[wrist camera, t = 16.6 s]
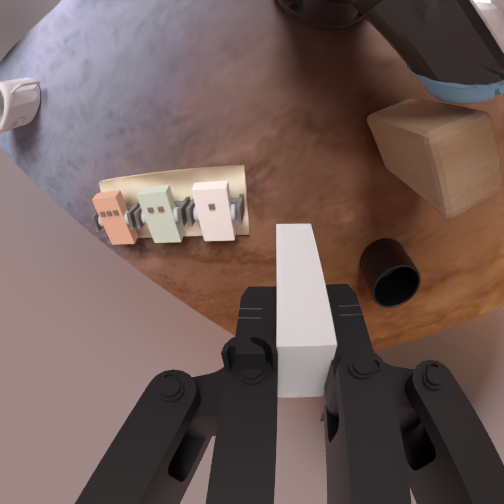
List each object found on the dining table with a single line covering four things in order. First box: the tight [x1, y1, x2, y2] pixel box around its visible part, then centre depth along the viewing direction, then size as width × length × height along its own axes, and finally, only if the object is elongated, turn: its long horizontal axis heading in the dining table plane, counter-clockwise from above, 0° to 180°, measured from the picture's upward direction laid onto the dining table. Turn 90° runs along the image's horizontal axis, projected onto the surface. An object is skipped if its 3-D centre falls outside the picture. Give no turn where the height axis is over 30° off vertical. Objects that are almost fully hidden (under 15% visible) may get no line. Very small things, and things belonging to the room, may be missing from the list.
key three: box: [92, 190, 138, 245], centre depth 43 cm, size 10×6×2 cm, turn 4°
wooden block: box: [367, 99, 502, 218], centre depth 29 cm, size 10×10×20 cm
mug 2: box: [360, 239, 421, 308], centre depth 46 cm, size 9×12×9 cm
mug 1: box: [0, 78, 40, 134], centre depth 31 cm, size 14×11×10 cm
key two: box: [136, 185, 184, 243], centre depth 43 cm, size 10×6×2 cm, turn 4°
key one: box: [191, 181, 237, 241], centre depth 42 cm, size 10×6×2 cm, turn 4°
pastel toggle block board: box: [92, 165, 250, 238], centre depth 44 cm, size 12×27×6 cm, turn 93°
